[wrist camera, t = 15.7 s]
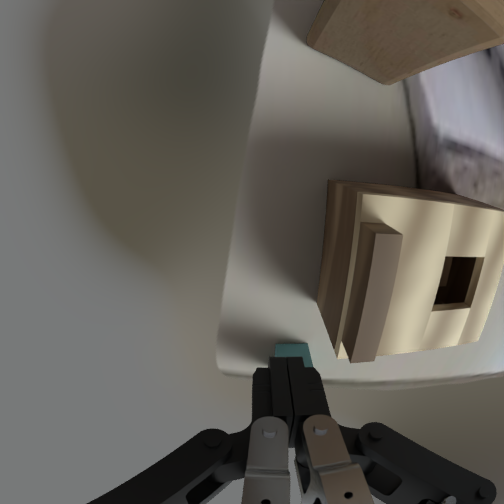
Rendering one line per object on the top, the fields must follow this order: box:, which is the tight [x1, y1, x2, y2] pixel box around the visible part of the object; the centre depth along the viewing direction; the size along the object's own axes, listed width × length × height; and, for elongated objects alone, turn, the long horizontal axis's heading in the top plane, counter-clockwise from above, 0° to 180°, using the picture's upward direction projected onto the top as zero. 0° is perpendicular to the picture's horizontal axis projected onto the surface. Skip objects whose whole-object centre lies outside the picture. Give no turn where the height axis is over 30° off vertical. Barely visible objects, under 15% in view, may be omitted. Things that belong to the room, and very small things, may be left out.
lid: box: [334, 192, 504, 363], centre depth 21 cm, size 17×14×4 cm
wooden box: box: [317, 180, 502, 349], centre depth 27 cm, size 17×14×9 cm
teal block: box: [275, 343, 313, 367], centre depth 31 cm, size 4×4×11 cm
